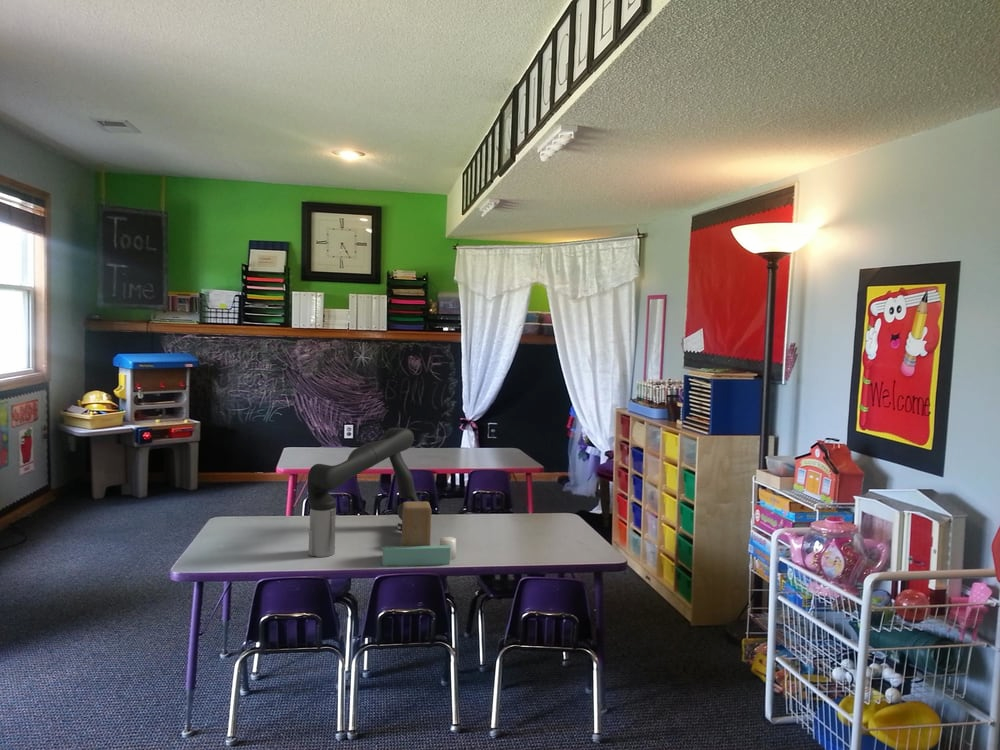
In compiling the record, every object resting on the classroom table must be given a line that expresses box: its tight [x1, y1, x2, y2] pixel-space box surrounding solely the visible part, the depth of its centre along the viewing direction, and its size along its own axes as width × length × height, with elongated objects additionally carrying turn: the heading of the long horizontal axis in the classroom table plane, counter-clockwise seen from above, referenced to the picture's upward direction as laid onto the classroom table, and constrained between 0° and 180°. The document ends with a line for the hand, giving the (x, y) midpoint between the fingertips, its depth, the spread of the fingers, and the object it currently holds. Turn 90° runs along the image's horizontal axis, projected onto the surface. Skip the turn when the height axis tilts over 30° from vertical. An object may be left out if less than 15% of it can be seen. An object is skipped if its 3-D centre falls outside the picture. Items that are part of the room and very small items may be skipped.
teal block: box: [381, 545, 451, 567], centre depth 251 cm, size 24×3×6 cm, turn 100°
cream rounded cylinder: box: [439, 536, 457, 561], centre depth 259 cm, size 6×6×7 cm
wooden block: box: [401, 500, 432, 546], centre depth 257 cm, size 10×10×20 cm
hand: (414, 533), depth 263 cm, fingers closed
